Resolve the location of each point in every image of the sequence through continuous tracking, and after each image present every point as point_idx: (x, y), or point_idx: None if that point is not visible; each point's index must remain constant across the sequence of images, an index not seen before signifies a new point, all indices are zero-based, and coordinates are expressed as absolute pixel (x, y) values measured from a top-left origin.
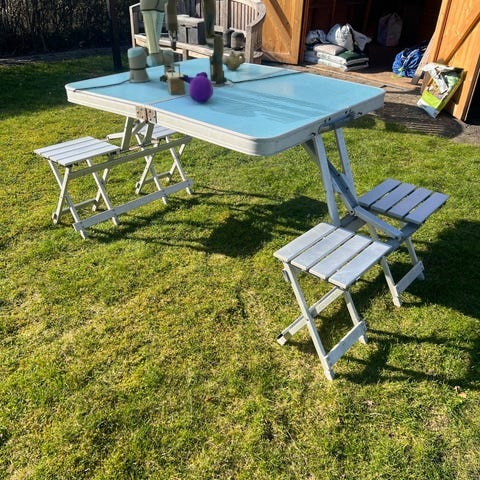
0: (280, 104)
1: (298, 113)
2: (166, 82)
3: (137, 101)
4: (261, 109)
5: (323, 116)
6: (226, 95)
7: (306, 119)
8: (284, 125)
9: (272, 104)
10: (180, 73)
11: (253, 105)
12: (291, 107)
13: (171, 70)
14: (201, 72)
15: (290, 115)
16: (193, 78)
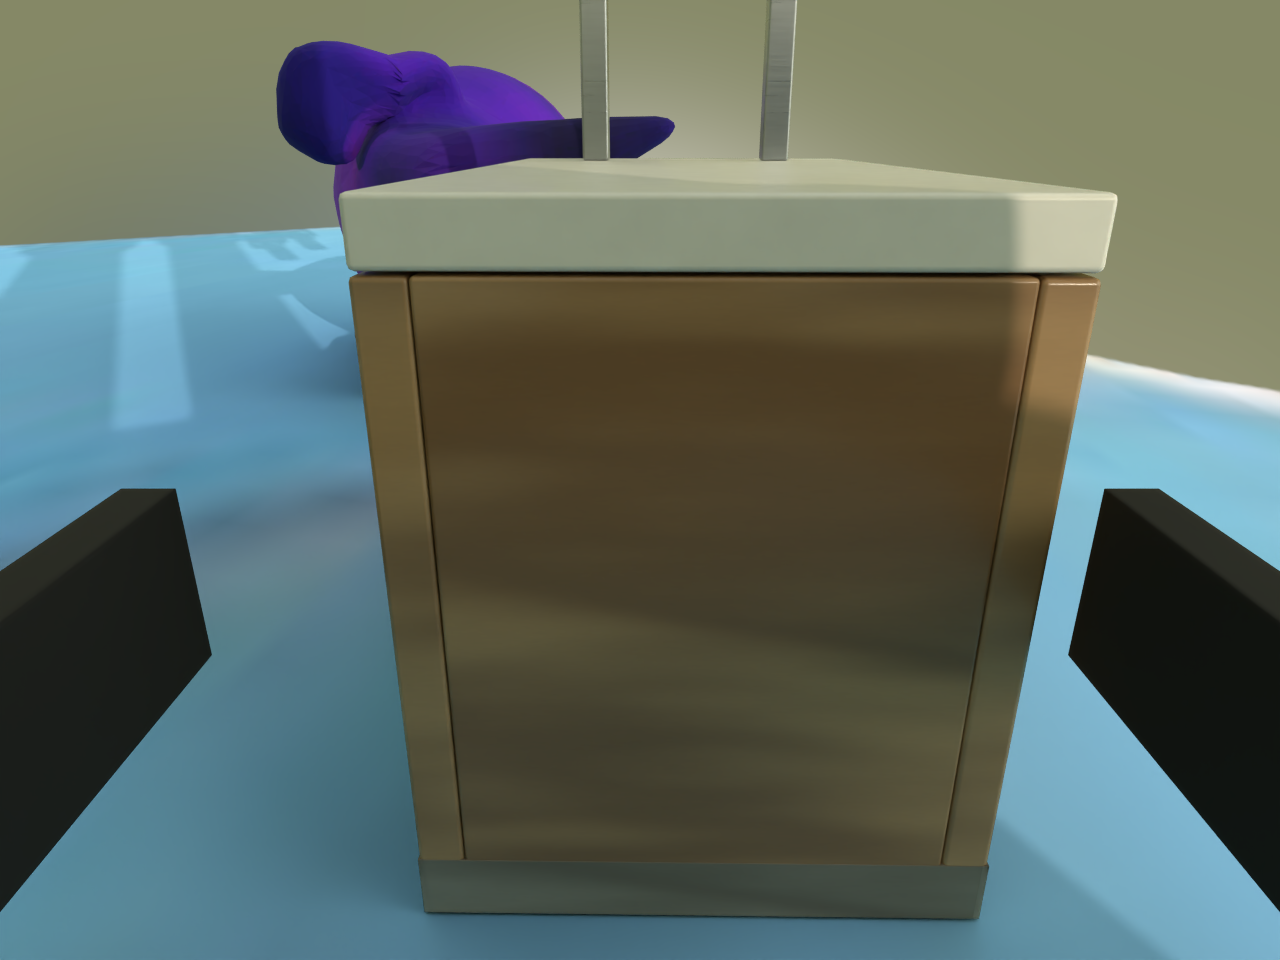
0: (10, 286)
1: (127, 253)
2: (1075, 632)
3: (1270, 423)
4: (218, 273)
5: (87, 242)
6: (49, 403)
7: (188, 239)
8: (328, 233)
9: (51, 290)
10: (481, 172)
11: (180, 293)
12: (35, 271)
13: (793, 6)
14: (357, 46)
15: (190, 250)
16: (532, 94)
